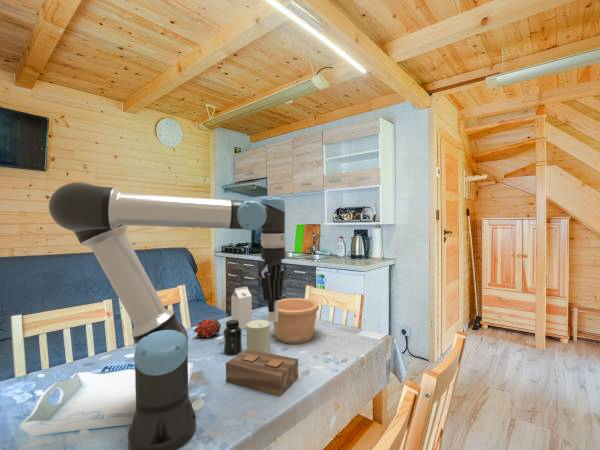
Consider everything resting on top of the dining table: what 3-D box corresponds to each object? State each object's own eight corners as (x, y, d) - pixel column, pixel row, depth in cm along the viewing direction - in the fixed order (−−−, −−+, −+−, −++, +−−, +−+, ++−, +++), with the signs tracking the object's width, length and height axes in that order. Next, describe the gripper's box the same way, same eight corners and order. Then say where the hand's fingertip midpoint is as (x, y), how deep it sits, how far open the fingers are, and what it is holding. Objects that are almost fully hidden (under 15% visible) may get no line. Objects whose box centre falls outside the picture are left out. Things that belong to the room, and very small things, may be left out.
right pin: (276, 384, 96) (276, 366, 96) (265, 381, 98) (265, 364, 98) (283, 378, 100) (282, 361, 100) (272, 375, 102) (272, 359, 102)
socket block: (280, 396, 91) (280, 376, 91) (225, 381, 100) (225, 362, 100) (298, 377, 102) (298, 359, 102) (247, 365, 111) (247, 348, 111)
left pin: (252, 378, 100) (252, 361, 100) (242, 375, 102) (242, 359, 102) (259, 372, 104) (259, 356, 104) (249, 370, 106) (249, 354, 106)
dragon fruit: (223, 338, 141) (196, 346, 135) (218, 322, 146) (192, 330, 141) (223, 326, 135) (195, 335, 130) (218, 311, 141) (191, 319, 136)
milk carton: (231, 326, 151) (231, 287, 151) (244, 323, 156) (243, 285, 155) (239, 330, 146) (238, 289, 145) (252, 326, 151) (251, 287, 150)
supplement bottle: (221, 355, 119) (221, 324, 119) (226, 348, 126) (226, 318, 126) (239, 355, 119) (239, 324, 118) (243, 348, 126) (242, 318, 125)
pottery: (307, 325, 152) (307, 296, 151) (327, 342, 131) (327, 308, 131) (264, 331, 144) (264, 300, 144) (277, 350, 123) (277, 314, 123)
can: (252, 360, 114) (251, 328, 114) (242, 351, 122) (242, 321, 122) (274, 354, 119) (274, 323, 119) (264, 346, 127) (263, 317, 127)
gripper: (272, 249, 91) (273, 329, 91) (293, 245, 102) (293, 316, 103) (251, 248, 94) (251, 325, 94) (273, 244, 106) (273, 313, 106)
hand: (273, 321), depth 99 cm, fingers closed
